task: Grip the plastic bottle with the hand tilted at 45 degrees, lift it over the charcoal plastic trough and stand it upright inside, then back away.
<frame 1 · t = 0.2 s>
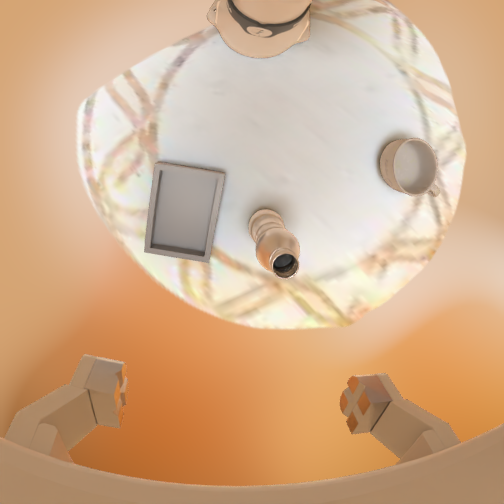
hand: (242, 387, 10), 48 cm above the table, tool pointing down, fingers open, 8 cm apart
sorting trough: (184, 210, 56), on the table
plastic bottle: (264, 223, 58), on the table
teacup: (399, 168, 57), on the table
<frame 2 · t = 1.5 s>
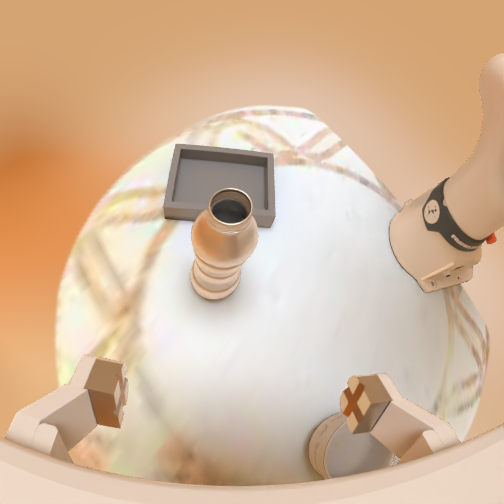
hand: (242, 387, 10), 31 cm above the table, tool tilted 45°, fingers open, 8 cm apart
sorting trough: (220, 190, 49), on the table
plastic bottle: (214, 280, 43), on the table
teacup: (330, 451, 36), on the table
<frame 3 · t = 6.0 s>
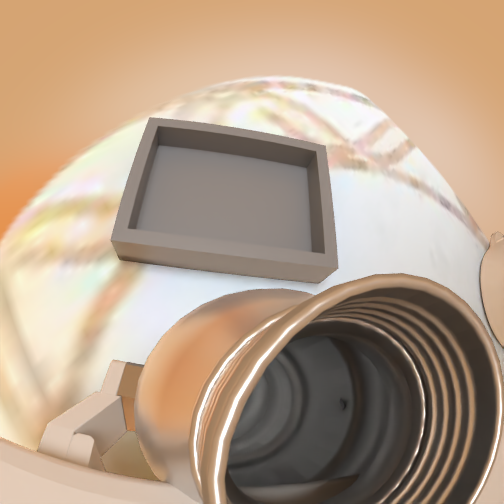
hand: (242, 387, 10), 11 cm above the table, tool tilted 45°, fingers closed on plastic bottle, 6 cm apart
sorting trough: (227, 206, 26), on the table
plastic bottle: (212, 392, 20), on the table, touching gripper
when the fingers open (14 cm above the table, at t = 13.0 s): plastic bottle stays where it is, resting on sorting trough.
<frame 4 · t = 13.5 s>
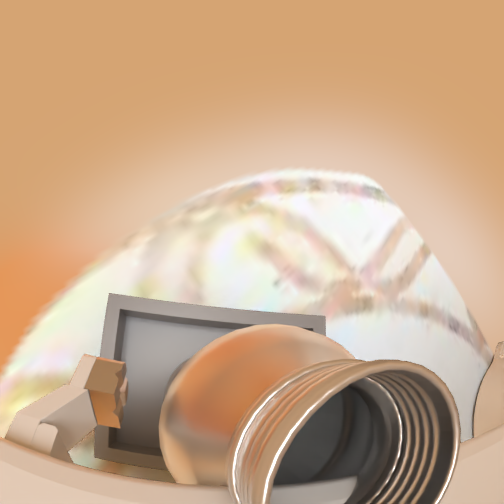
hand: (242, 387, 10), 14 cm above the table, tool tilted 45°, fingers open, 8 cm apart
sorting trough: (210, 390, 22), on the table
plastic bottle: (210, 395, 21), point 1 cm above the table, touching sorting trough
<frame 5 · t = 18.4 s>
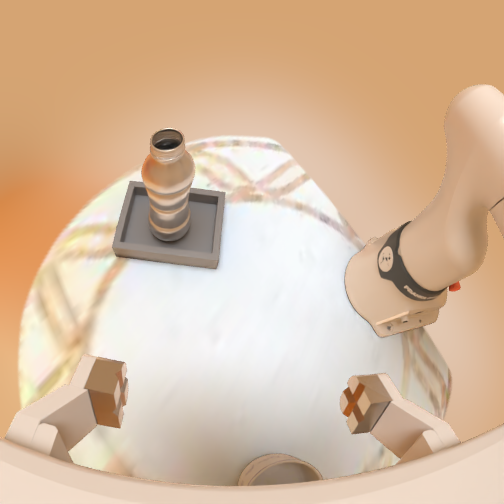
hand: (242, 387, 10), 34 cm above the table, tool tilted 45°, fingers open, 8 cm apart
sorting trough: (170, 228, 49), on the table
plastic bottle: (170, 227, 48), point 1 cm above the table, touching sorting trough
teacup: (263, 487, 36), on the table
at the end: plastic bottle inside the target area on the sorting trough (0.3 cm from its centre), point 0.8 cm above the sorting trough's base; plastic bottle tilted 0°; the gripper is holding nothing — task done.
